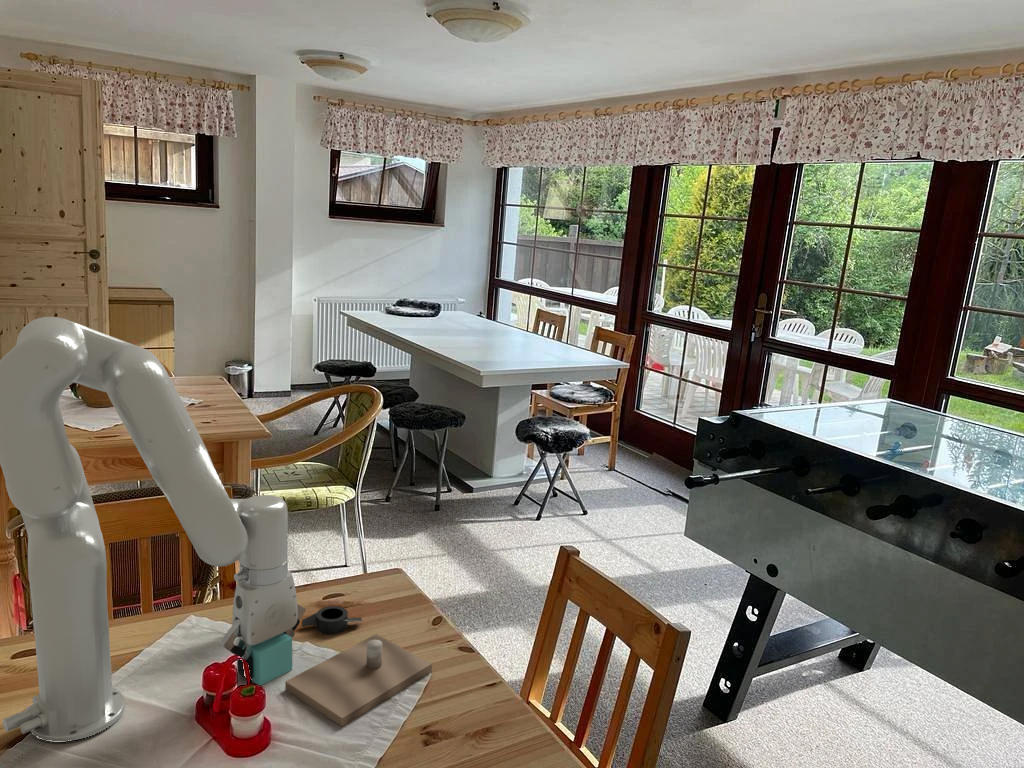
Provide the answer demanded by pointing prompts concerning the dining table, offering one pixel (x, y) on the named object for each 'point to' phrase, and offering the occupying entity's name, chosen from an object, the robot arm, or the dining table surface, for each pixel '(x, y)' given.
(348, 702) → the stub board
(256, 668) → the turquoise rounded cube
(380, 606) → the dining table surface
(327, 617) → the dark grey ring piece
